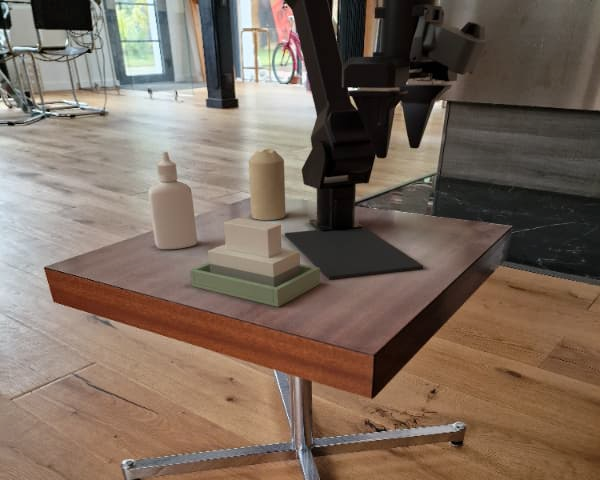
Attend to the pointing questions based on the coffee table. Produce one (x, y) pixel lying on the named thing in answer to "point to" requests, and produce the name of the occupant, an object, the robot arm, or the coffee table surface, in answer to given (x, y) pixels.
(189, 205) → the eye dropper bottle
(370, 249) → the mat
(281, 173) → the candle
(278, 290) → the tray
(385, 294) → the coffee table surface
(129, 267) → the coffee table surface
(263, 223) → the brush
